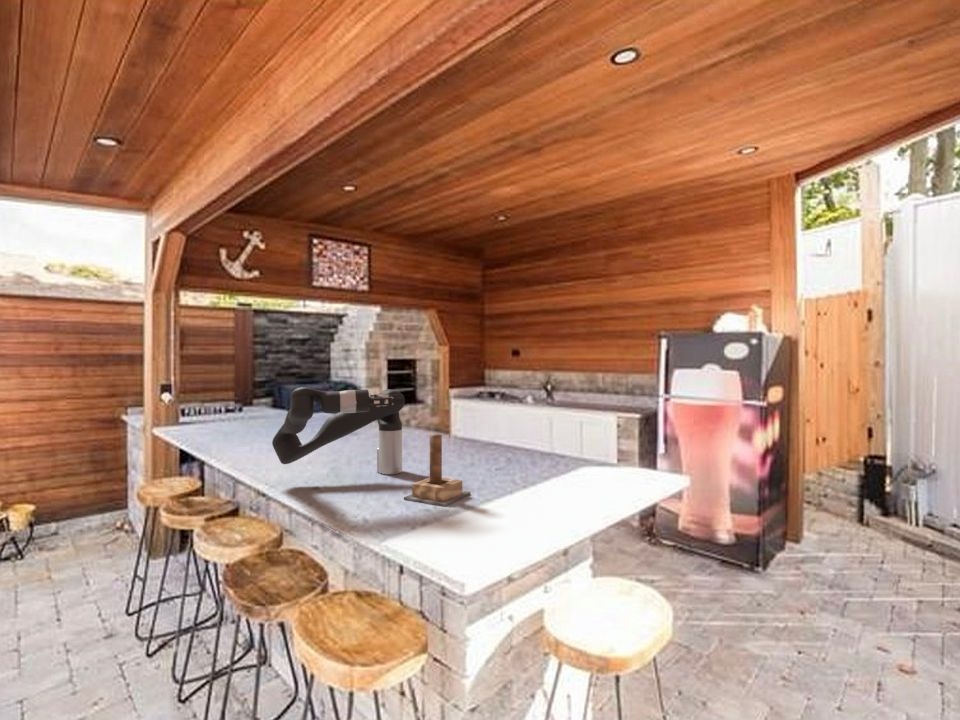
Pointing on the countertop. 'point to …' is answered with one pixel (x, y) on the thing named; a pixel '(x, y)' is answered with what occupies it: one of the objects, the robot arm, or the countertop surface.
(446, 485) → the socket block
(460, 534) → the countertop surface
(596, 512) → the countertop surface
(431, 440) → the peg
